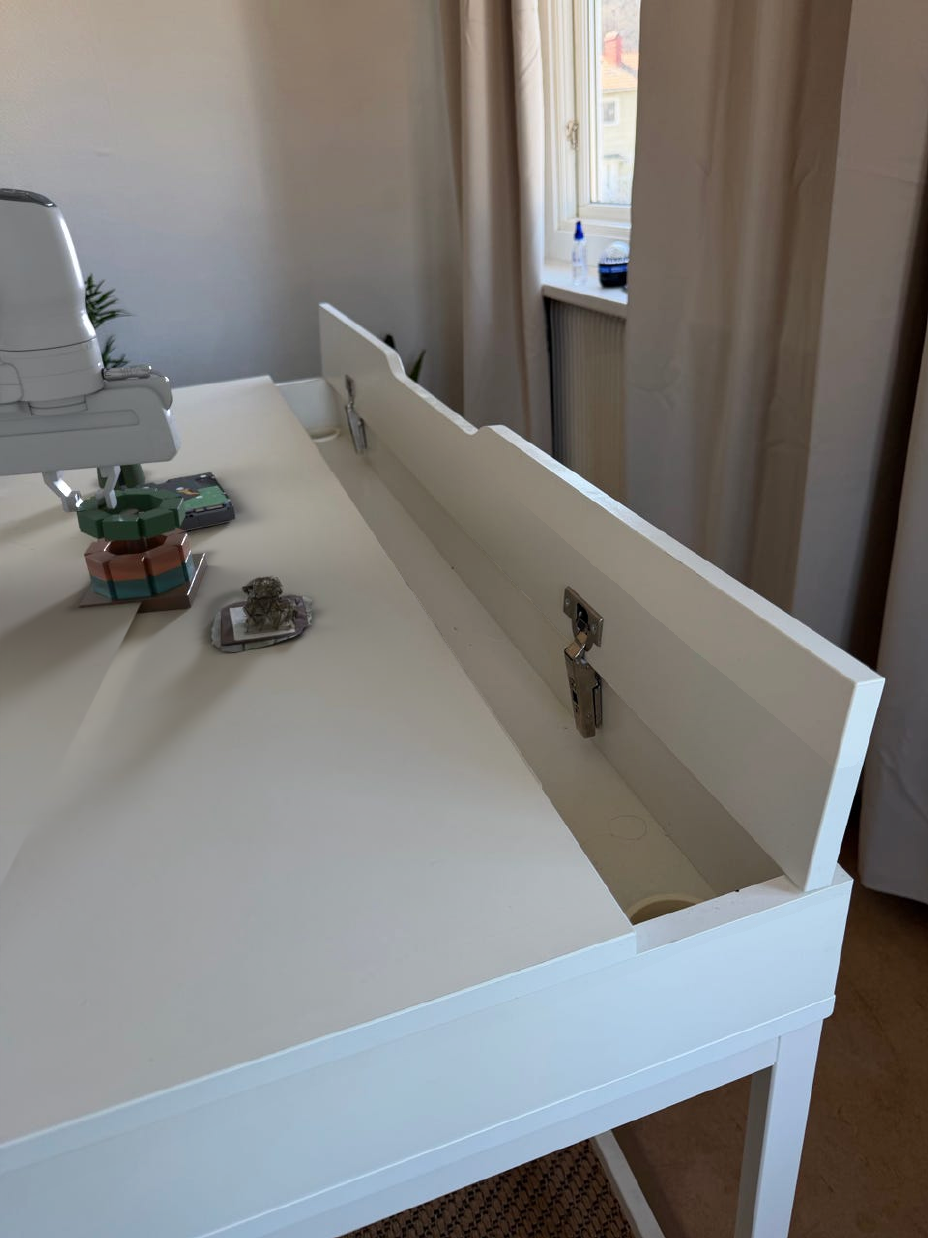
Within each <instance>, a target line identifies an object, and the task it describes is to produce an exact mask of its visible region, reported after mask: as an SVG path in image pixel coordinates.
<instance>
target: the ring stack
mask: <svg viewBox="0 0 928 1238" xmlns="http://www.w3.org/2000/svg"><path fill="white" fill-rule="evenodd" d="M139 513H140V512H139V510H138V509H126V510H123V511H121V512H119V514H139ZM191 549H192V548H191V545H190V540H189V535H188V533H187V532H186V531H185V530H181V529H178V528H175V530H173V531H170V532H166V533H163V534H160V535H157V536H154V537H151V538H145V537H143V536H141V538H140V540H108V541H105V538H101V539H96V541H92V542H90V545H89V546H88V547H87V549H86V550H85V552H84V553H83V556H84V560H85V563H86V567H87V571H88V574H89V578H90V581H91V585H90V586H89V588H88V589H87V592H86V593H85V594H84V596H83V598H82V600H81V601H80V603H79V604H78V608H79V609H83V608H93V607H103V606H104V607H105V606H111V605H112V606H113V605H114V606H115V605H122V604H132V603H140V605H139V606H138V608H137V611H136V614H140V613H150V612H161V611H162V612H163V611H171V610H179V609H181V610H182V609H190V608H192V606H193V603H194V600H195V597H196V595H197V593H198V590H199V587H200V584H201V583H202V580H203V577H204V575H205V571H206V569H207V567H208V562H207V557H206V553H205V552H201V553H192V550H191Z"/></svg>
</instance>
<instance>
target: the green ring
mask: <svg viewBox="0 0 928 1238" xmlns="http://www.w3.org/2000/svg"><path fill="white" fill-rule="evenodd" d="M120 490H121V489H120ZM120 490H115V491H114V493H115V497H116V501H117V504H116V506H115V508H114V509H103V510H100V509H99V508H98V506H97V504H98V502H97V501H96V498H95V495H93V496H90V497H89V499H84V500H83V503H82V504H81V505H80V507H79V508H78V509H77V510H76V512H75V513H76V518H77V522H78V528H79V529H80V532H81V533H83V534H85V535H88V536H90V537H92V538H94V539H96V540H97V539H101V538H105V541H108V540H140V538H141V536H143V537H145V538H151V537H154V536H157V535H160V534H163V533H166V532H170V531H173V530H175V527H180V526H181V523H182V521H183V519H184V517H185V508H184V500H183V498H182V496H181V495H178V494H176V493H173V492H170V491H168V490H165V489H161V490H157V488H130V489H127V488H124V490H123V491H122V490H121V491H120ZM126 509H138V510H139V514H119V512H121V511H123V510H126Z"/></svg>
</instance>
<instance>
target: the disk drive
mask: <svg viewBox="0 0 928 1238" xmlns="http://www.w3.org/2000/svg"><path fill="white" fill-rule="evenodd" d="M136 488H157V490H161V489H165V490H168V491H170V492H173V493H176V494H178V495H181V496H182V498H183V500H184V508H185V517H184V519H183V521H182V523H181V526H180V527H175V528H178V529H181V530H185V532H186V531H189V530H195V529H201V528H205V527H211V526H215V525H220V524H225V523H229V522H231V521H235V520H236V512H235V506H234V505H233V502H232V500H231V497H230V495H228V493H227V492H226V490H225V488H224V487H223V486H222V484H221V483H220V482H219V480H218V479H217V477H216V475H215V474H214V473H213V472H212V471H207V472H202V473H197V474H192V475H186V476H180V477H174V478H169V479H168V480H166V481H165V482H161V483H157V484H156V483H155V482H153V481H152V482H147V483H144V484H141V485H136Z"/></svg>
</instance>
